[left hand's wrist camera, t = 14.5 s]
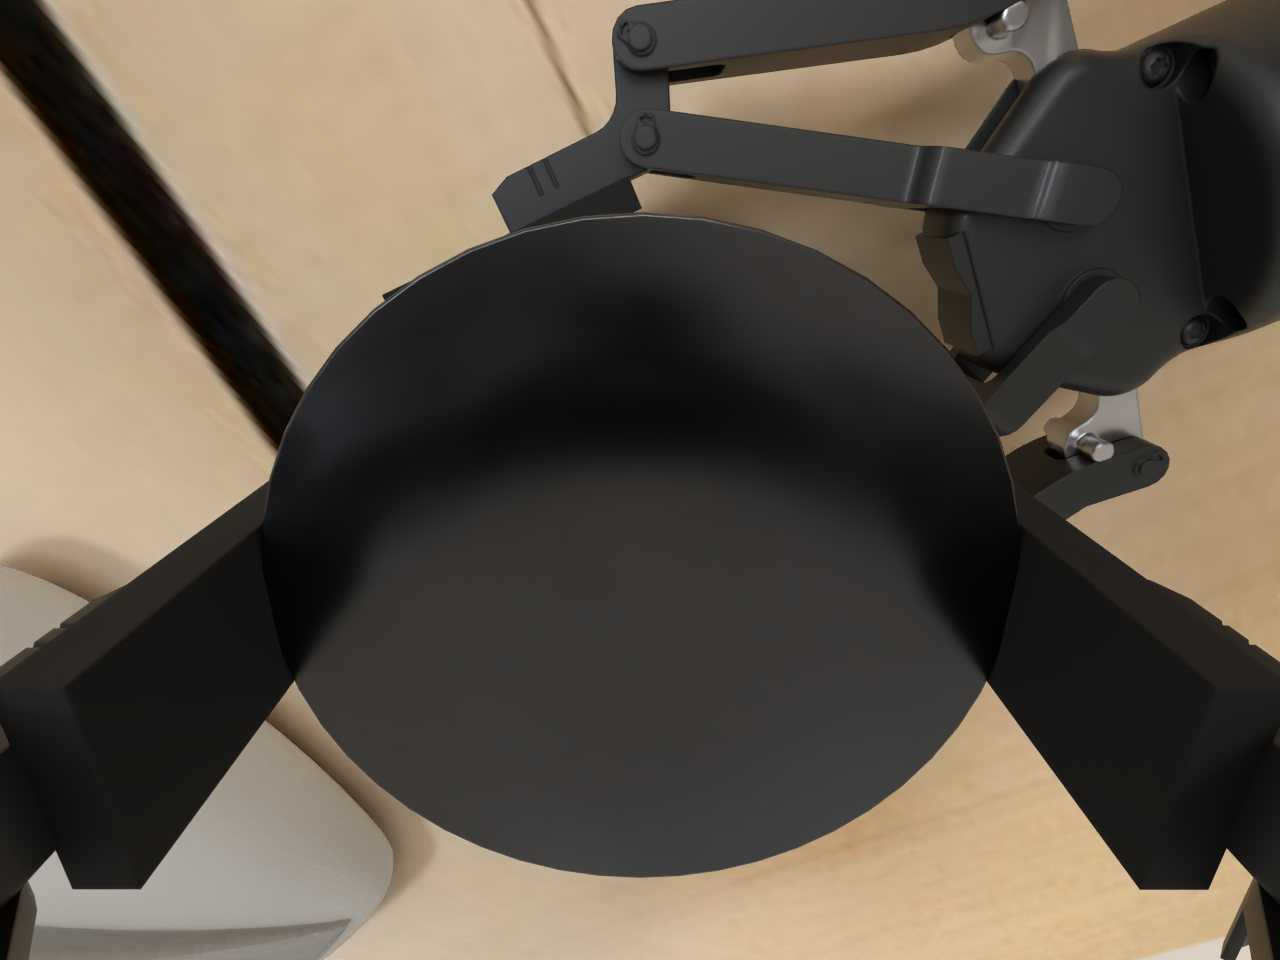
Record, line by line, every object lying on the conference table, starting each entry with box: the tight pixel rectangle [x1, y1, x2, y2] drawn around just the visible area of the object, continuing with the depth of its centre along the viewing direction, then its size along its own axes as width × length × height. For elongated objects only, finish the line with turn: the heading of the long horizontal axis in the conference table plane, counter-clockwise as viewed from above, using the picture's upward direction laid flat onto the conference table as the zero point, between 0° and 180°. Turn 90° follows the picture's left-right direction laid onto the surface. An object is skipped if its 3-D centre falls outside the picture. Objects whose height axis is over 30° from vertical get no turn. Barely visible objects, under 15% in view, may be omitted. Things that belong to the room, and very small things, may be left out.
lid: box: [263, 212, 1019, 878], centre depth 11 cm, size 11×11×2 cm
